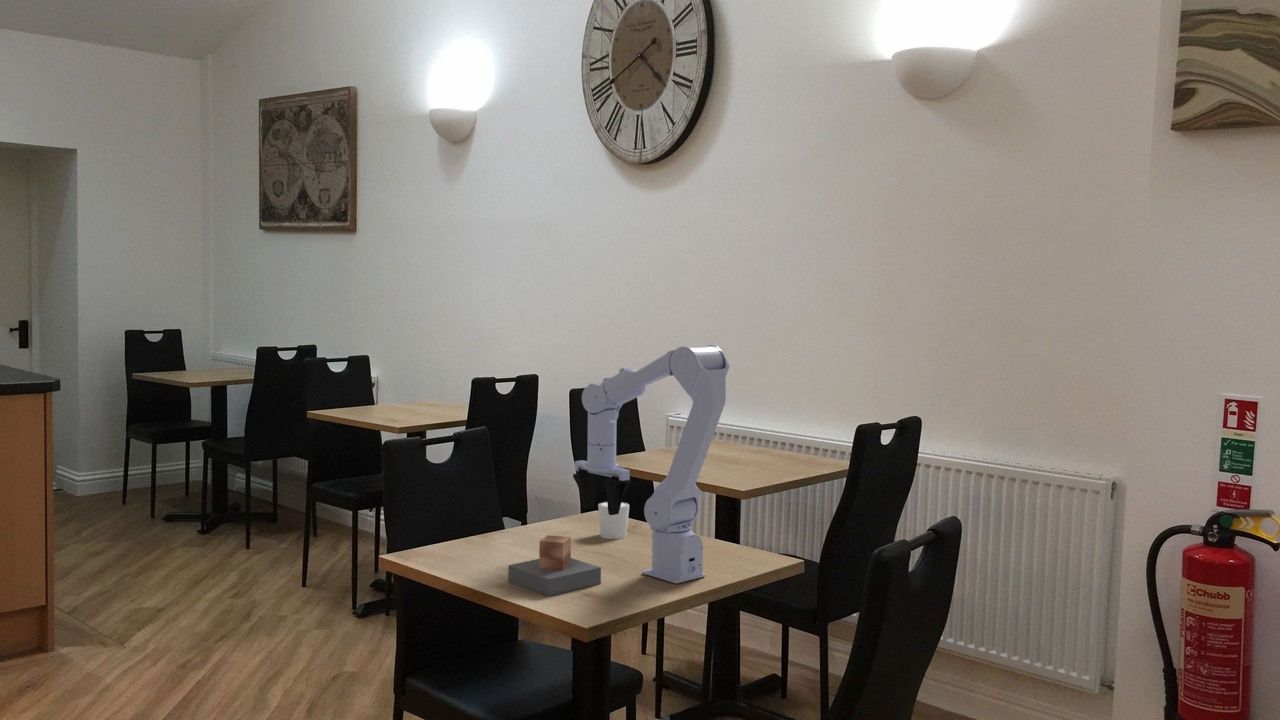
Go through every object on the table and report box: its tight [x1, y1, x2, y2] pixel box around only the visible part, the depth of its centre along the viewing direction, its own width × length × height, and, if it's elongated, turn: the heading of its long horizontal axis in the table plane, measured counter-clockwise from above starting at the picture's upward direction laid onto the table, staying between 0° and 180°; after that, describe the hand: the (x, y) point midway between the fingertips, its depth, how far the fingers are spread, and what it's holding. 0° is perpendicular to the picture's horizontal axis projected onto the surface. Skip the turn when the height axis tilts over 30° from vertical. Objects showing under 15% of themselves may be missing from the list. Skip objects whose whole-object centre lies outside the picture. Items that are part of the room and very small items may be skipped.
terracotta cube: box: [538, 534, 572, 570], centre depth 189 cm, size 4×4×5 cm
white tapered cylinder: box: [597, 501, 630, 540], centre depth 225 cm, size 7×7×7 cm
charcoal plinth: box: [507, 557, 602, 597], centre depth 189 cm, size 12×12×3 cm
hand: (601, 511), depth 206 cm, fingers open, 7 cm apart
